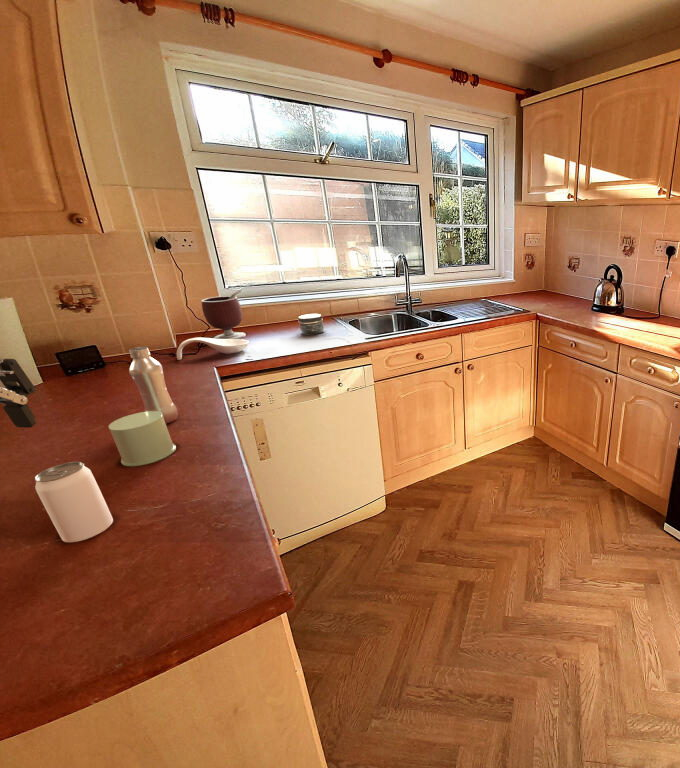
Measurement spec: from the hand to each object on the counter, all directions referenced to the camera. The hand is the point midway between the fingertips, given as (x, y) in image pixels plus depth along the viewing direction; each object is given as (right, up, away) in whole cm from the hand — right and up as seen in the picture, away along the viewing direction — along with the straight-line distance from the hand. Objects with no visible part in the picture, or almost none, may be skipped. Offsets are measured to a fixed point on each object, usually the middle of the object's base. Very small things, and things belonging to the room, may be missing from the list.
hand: (1, 445), depth 59 cm
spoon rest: (-44, +20, +105) cm, 116 cm away
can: (-1, -17, +13) cm, 21 cm away
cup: (-9, -8, +35) cm, 37 cm away
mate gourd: (-53, +29, +129) cm, 142 cm away
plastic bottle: (-19, -2, +51) cm, 54 cm away
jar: (-20, +32, +134) cm, 139 cm away
